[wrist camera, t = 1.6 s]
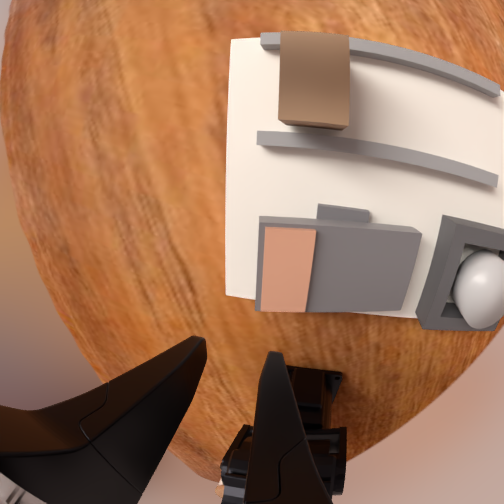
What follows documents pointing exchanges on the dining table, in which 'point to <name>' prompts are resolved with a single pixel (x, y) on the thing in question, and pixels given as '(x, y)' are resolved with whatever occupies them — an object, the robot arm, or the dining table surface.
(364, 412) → the dining table surface
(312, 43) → the slider knob
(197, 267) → the dining table surface
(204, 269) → the dining table surface
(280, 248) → the rocker switch
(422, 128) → the panel
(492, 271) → the push button
